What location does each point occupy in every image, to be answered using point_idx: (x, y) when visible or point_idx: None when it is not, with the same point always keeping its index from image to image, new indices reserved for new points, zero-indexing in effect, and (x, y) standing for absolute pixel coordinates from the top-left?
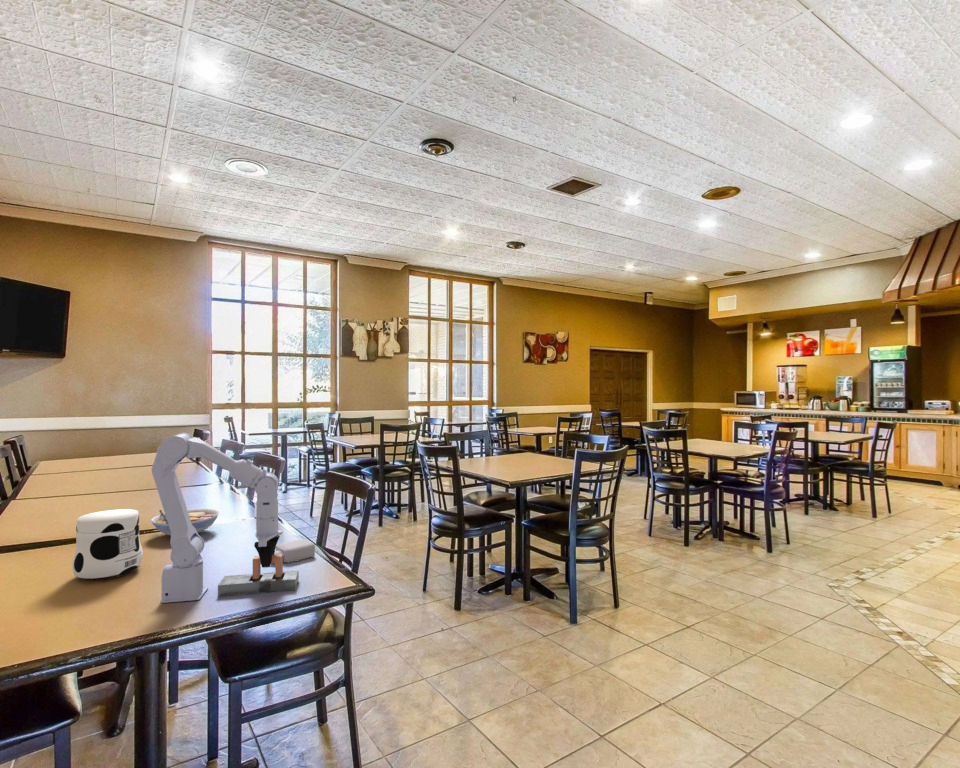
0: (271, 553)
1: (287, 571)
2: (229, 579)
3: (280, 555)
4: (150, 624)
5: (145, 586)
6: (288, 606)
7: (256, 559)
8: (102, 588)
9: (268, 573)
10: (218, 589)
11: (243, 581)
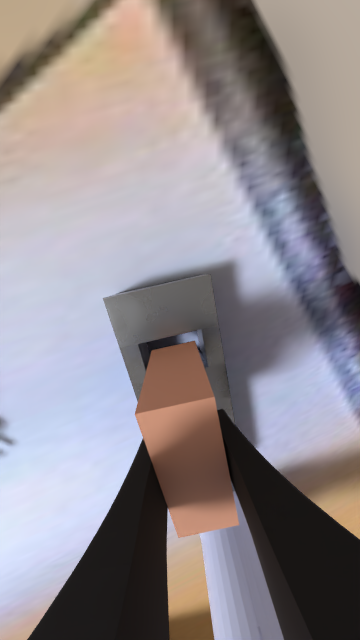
0: (287, 483)
1: (119, 342)
2: None
3: (175, 414)
4: (349, 492)
5: (172, 589)
6: (327, 250)
7: (234, 506)
8: (181, 628)
9: None
10: None
11: None
